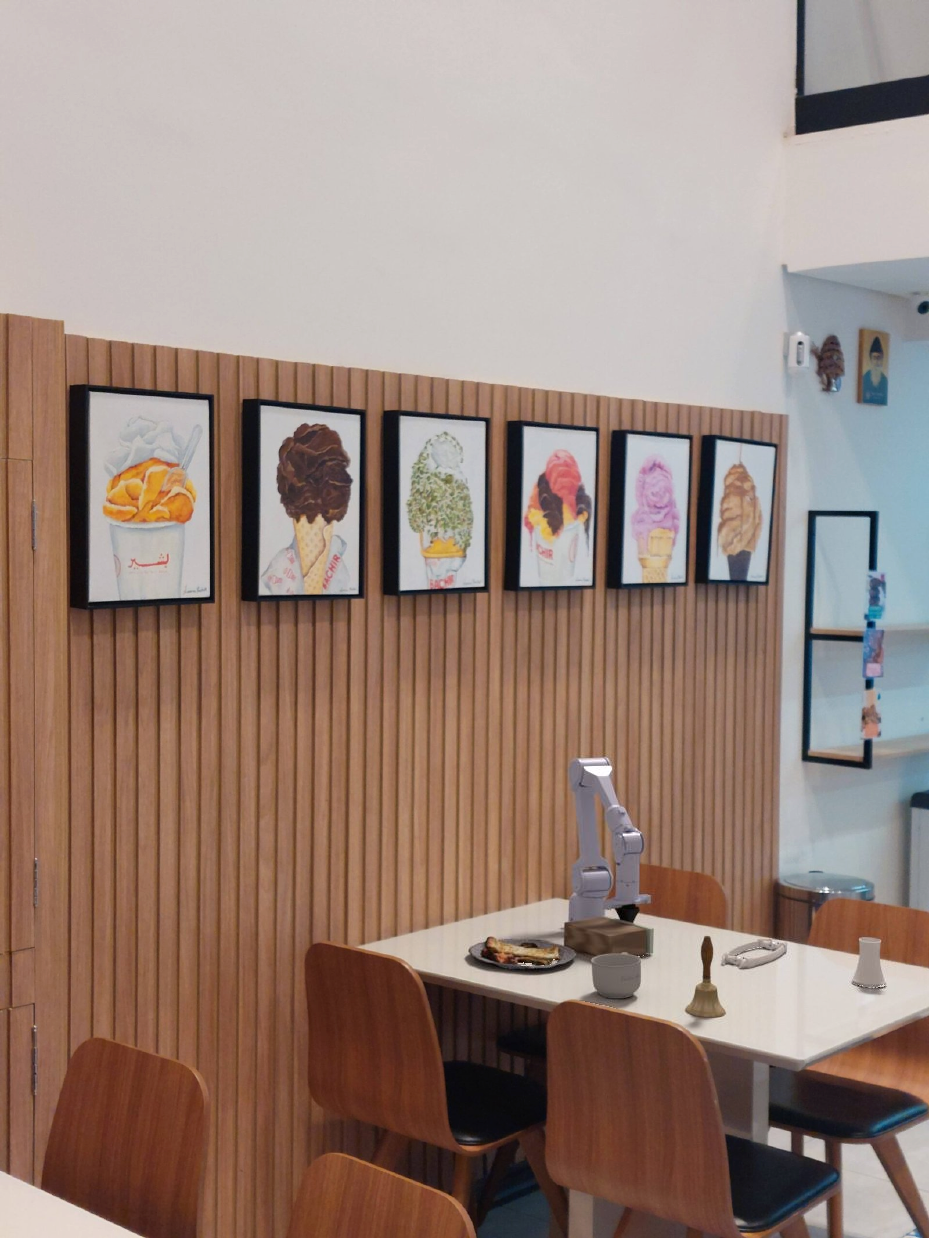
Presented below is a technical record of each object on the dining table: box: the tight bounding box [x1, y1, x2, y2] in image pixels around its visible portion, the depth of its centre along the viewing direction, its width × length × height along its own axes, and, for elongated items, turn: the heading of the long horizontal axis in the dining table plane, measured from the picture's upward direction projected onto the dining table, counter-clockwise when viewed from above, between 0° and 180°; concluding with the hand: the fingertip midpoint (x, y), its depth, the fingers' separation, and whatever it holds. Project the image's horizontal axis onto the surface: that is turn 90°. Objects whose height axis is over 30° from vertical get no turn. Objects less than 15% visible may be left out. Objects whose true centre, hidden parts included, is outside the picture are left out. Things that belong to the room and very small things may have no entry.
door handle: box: [721, 937, 788, 970], centre depth 345 cm, size 3×10×25 cm
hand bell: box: [685, 935, 726, 1019], centre depth 300 cm, size 8×8×16 cm
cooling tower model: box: [851, 936, 887, 989], centre depth 324 cm, size 8×8×10 cm
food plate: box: [468, 935, 577, 970], centre depth 338 cm, size 25×23×4 cm
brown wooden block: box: [563, 916, 647, 959], centre depth 346 cm, size 16×12×6 cm
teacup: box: [590, 952, 642, 999], centre depth 312 cm, size 14×11×8 cm
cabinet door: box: [602, 915, 655, 955], centre depth 351 cm, size 17×2×6 cm, turn 40°
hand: (626, 935), depth 353 cm, fingers closed
